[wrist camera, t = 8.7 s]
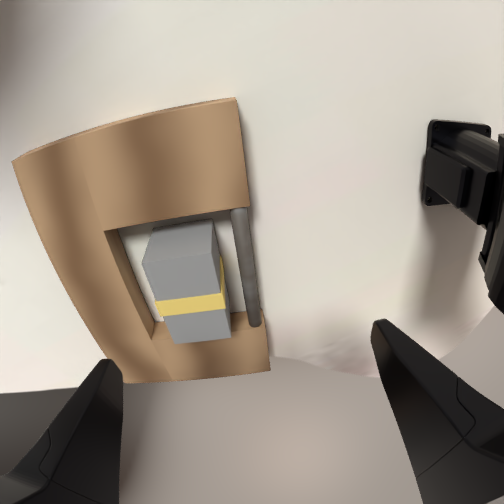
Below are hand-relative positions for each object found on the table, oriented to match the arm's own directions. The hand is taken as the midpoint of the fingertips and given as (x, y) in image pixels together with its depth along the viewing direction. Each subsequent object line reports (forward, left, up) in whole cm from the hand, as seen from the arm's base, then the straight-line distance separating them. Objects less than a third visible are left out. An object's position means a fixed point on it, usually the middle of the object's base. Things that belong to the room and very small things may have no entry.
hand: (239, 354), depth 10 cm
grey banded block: (+3, +5, -12) cm, 13 cm away
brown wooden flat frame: (+6, +5, -12) cm, 14 cm away
